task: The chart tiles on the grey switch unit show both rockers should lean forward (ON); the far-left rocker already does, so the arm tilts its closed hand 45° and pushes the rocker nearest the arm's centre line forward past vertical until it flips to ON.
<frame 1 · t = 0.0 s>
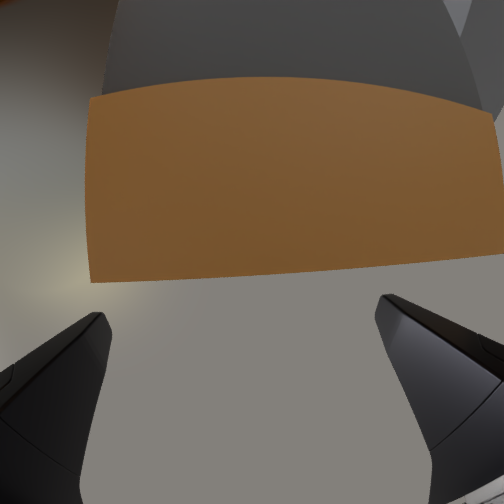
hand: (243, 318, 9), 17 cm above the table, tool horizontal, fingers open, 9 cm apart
rocker b: (472, 62, 9), point 7 cm above the table, hinge at 28.0°
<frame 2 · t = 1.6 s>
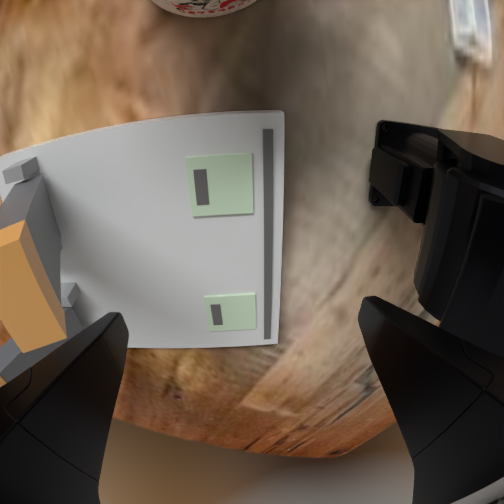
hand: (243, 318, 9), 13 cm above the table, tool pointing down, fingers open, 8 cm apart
switch unit: (138, 251, 23), on the table
rocker b: (34, 359, 19), point 7 cm above the table, hinge at 28.0°
rocker a: (28, 244, 13), point 7 cm above the table, hinge at -28.0°
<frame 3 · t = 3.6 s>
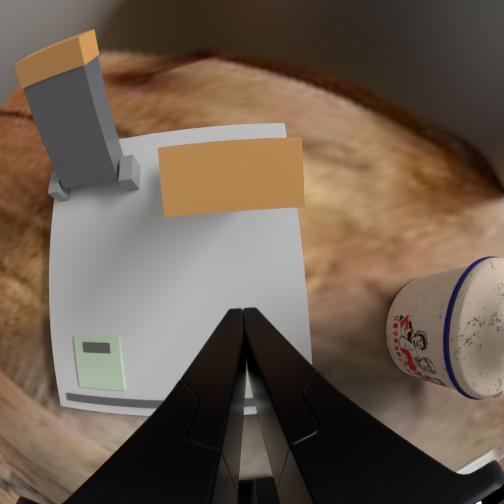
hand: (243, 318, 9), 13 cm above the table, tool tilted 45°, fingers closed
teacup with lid: (432, 338, 22), on the table
switch unit: (165, 268, 22), on the table
rocker b: (72, 114, 17), point 7 cm above the table, hinge at 28.0°
rocker a: (231, 170, 16), point 7 cm above the table, hinge at -28.0°
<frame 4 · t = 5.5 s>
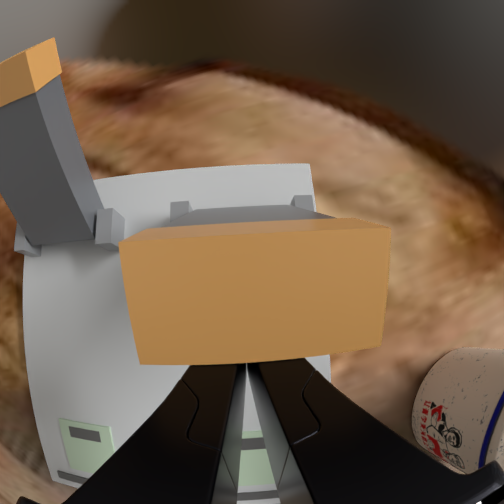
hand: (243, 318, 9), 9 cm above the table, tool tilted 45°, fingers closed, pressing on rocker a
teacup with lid: (457, 410, 17), on the table
switch unit: (160, 349, 17), on the table
rocker b: (31, 154, 12), point 7 cm above the table, hinge at 28.0°
rocker a: (247, 247, 11), point 8 cm above the table, hinge at -23.2°, touching gripper
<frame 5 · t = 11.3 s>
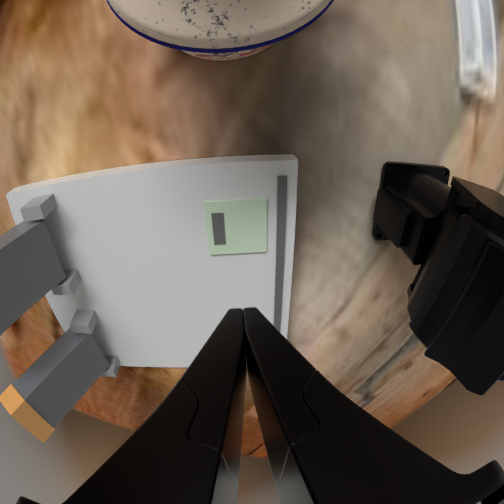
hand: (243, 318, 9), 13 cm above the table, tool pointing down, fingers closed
switch unit: (155, 282, 24), on the table
rocker b: (56, 382, 21), point 7 cm above the table, hinge at 28.0°
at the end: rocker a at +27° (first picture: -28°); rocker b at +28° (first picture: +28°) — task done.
